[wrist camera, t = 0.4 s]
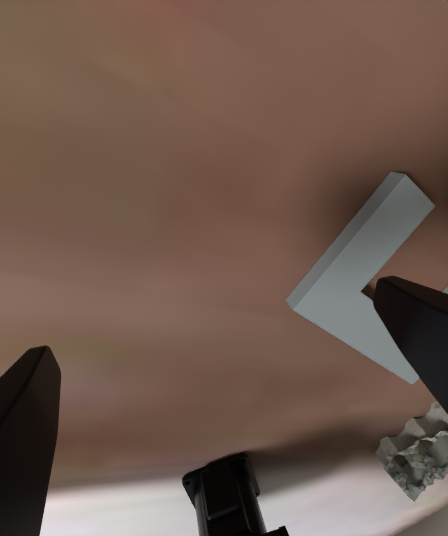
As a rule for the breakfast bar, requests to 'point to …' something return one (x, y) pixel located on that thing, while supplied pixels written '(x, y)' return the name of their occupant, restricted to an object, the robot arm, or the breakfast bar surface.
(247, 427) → the breakfast bar surface
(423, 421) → the egg carton
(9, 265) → the breakfast bar surface
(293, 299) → the notched board
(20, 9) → the breakfast bar surface
